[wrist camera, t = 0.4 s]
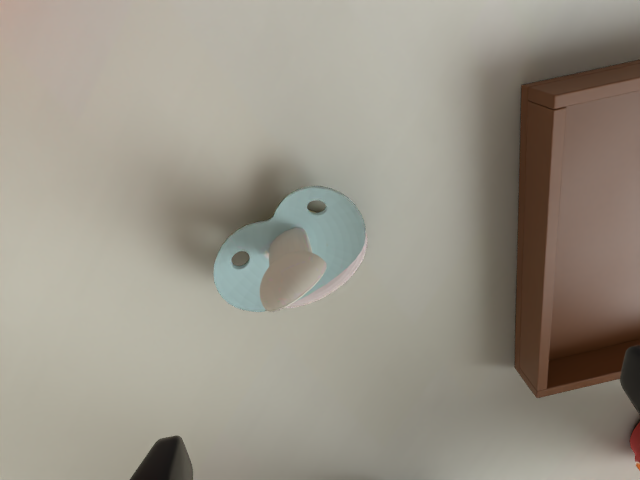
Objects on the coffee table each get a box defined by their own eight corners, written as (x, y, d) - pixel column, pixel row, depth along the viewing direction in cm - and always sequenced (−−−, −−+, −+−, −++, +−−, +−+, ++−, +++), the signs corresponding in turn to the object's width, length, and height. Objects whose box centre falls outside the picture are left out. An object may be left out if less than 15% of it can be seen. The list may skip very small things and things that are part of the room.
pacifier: (388, 246, 24) (324, 156, 21) (431, 322, 19) (353, 216, 16) (274, 321, 25) (199, 245, 23) (284, 413, 20) (186, 329, 17)
